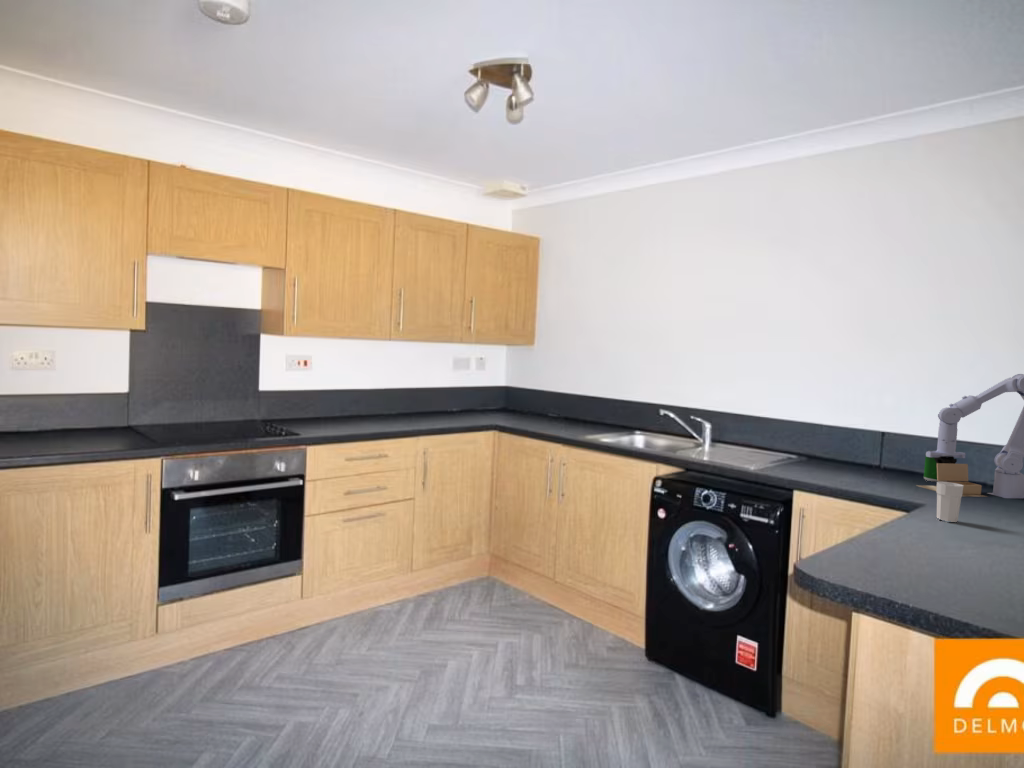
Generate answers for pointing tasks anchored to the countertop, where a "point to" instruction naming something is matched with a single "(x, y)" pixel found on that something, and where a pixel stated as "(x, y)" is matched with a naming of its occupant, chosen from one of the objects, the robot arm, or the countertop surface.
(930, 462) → the soda can
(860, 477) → the countertop surface
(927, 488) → the board
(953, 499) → the cup
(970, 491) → the parcel box
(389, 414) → the countertop surface
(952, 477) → the lid flap
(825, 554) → the countertop surface
